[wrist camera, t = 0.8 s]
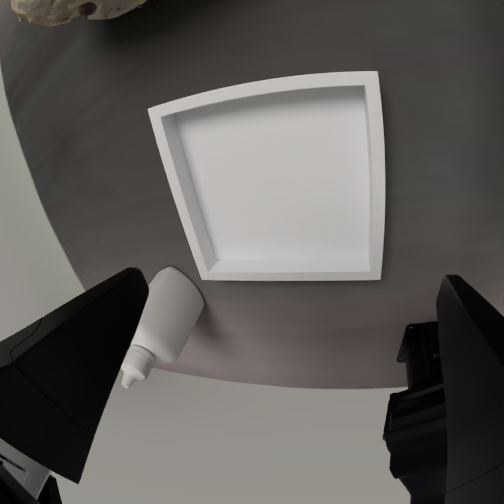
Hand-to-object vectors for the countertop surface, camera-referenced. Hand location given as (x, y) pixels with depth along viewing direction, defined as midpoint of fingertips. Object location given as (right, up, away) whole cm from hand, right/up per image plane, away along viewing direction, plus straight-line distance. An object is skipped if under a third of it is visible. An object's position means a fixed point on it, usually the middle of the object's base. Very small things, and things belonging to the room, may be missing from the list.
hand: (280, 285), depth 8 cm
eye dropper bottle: (-8, -3, +21) cm, 22 cm away
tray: (+1, +6, +12) cm, 13 cm away
